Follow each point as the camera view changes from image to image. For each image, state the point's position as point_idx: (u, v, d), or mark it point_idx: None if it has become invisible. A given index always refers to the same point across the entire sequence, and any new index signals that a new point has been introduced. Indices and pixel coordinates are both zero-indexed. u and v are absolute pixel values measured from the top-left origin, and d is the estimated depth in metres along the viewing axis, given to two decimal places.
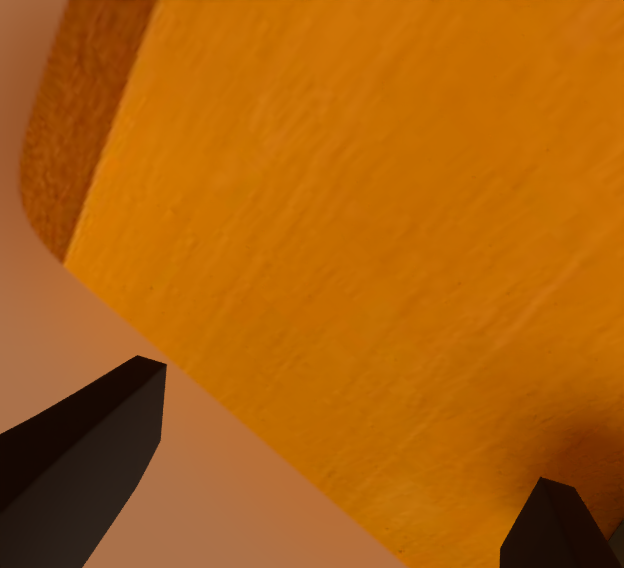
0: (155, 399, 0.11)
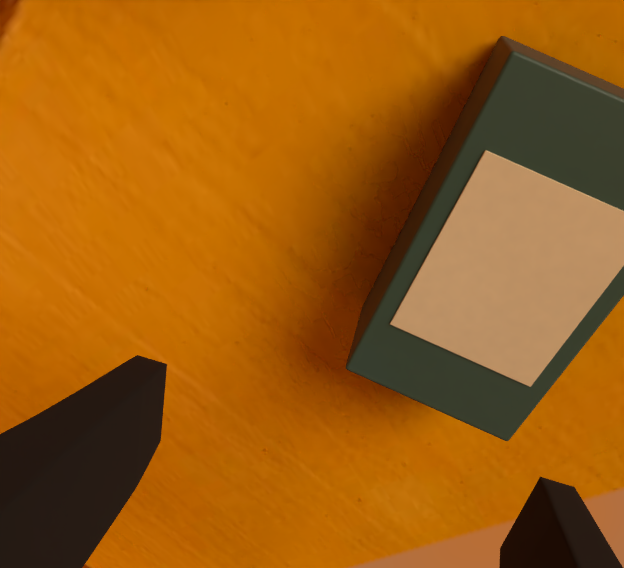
0: (155, 400, 0.11)
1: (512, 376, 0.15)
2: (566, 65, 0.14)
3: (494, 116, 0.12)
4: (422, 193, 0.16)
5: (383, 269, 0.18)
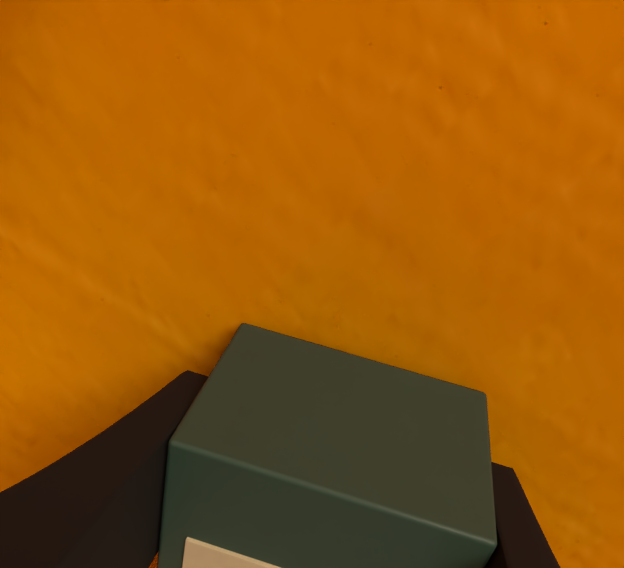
0: None
1: None
2: (311, 369, 0.11)
3: (180, 505, 0.09)
4: None
5: None
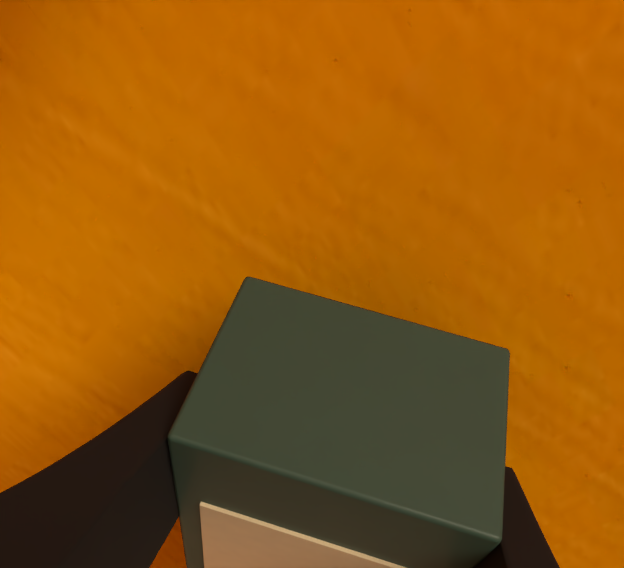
0: None
1: None
2: (319, 333, 0.10)
3: (189, 480, 0.09)
4: None
5: None
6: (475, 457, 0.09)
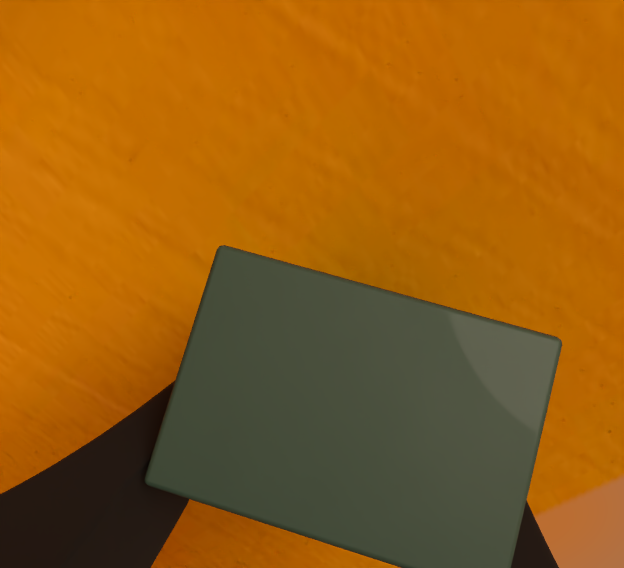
0: None
1: None
2: (311, 332, 0.08)
3: None
4: None
5: None
6: (489, 500, 0.08)
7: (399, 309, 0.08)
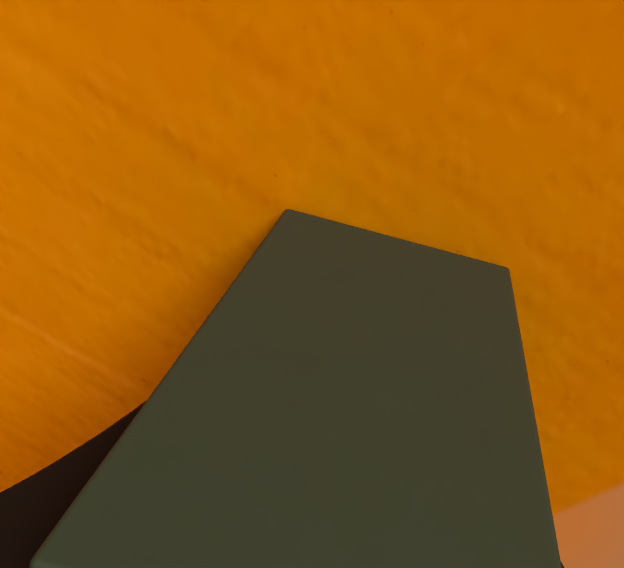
0: None
1: None
2: None
3: None
4: None
5: None
6: None
7: None
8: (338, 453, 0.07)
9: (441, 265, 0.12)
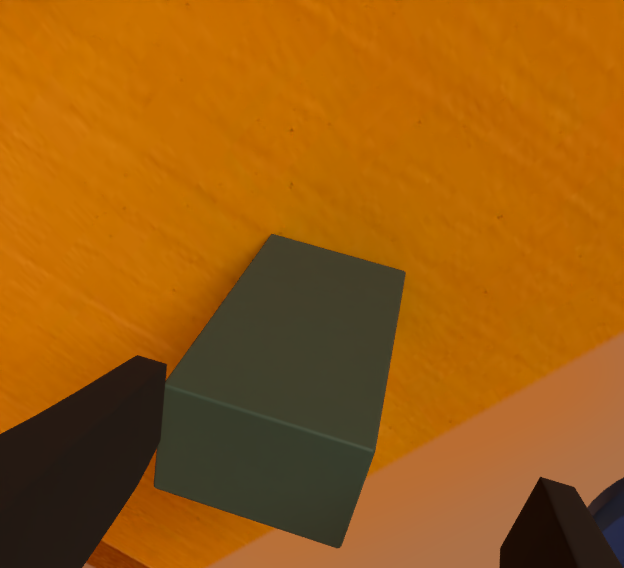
0: (155, 400, 0.11)
1: None
2: (225, 434, 0.13)
3: None
4: None
5: None
6: (331, 514, 0.14)
7: (275, 428, 0.13)
8: (289, 356, 0.15)
9: (362, 269, 0.20)
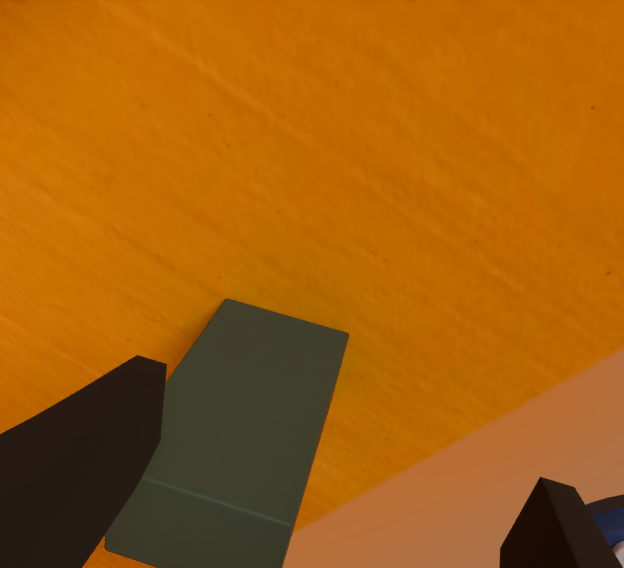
0: (155, 400, 0.11)
1: None
2: (163, 508, 0.15)
3: None
4: None
5: None
6: None
7: (204, 505, 0.15)
8: (225, 431, 0.17)
9: (307, 333, 0.21)
